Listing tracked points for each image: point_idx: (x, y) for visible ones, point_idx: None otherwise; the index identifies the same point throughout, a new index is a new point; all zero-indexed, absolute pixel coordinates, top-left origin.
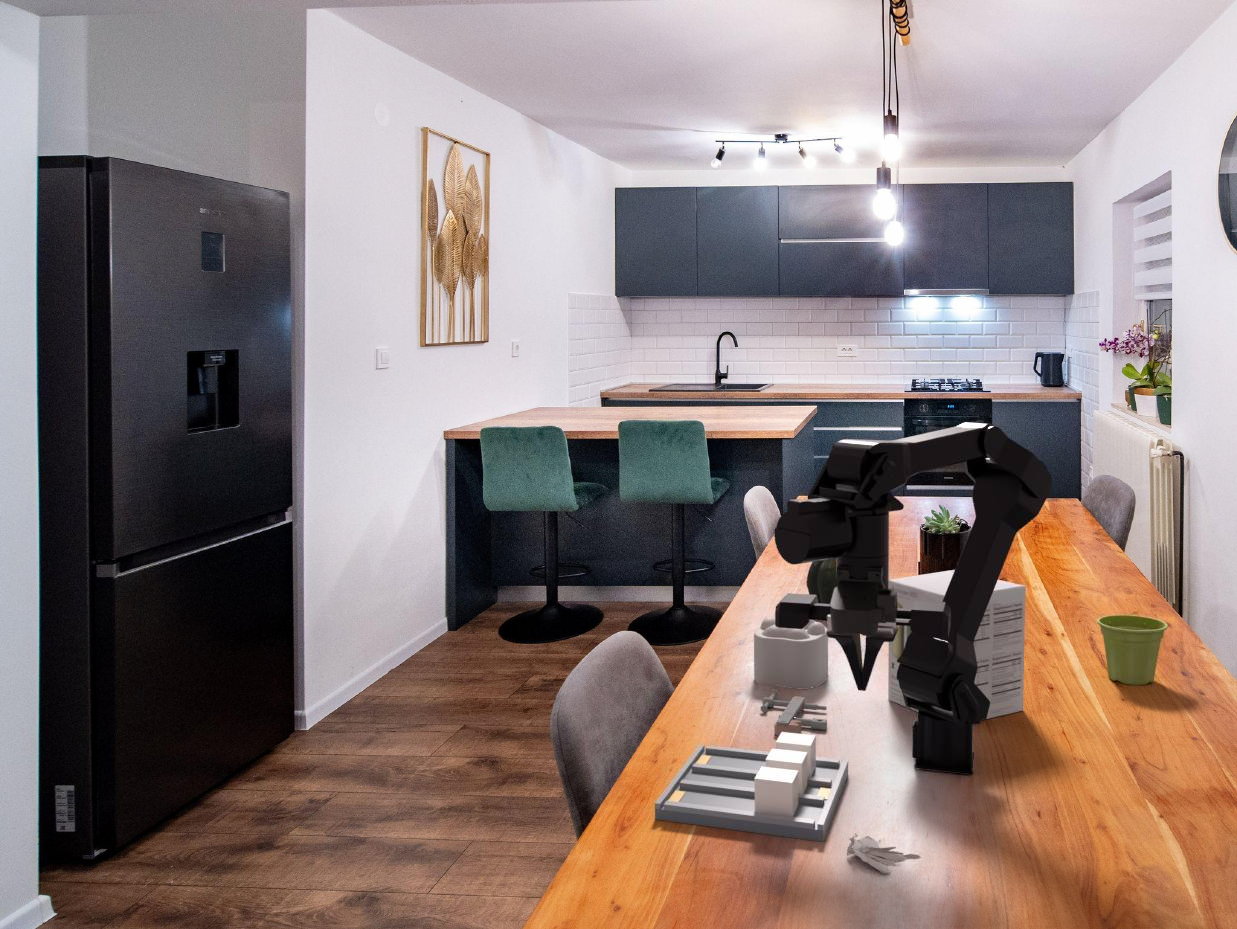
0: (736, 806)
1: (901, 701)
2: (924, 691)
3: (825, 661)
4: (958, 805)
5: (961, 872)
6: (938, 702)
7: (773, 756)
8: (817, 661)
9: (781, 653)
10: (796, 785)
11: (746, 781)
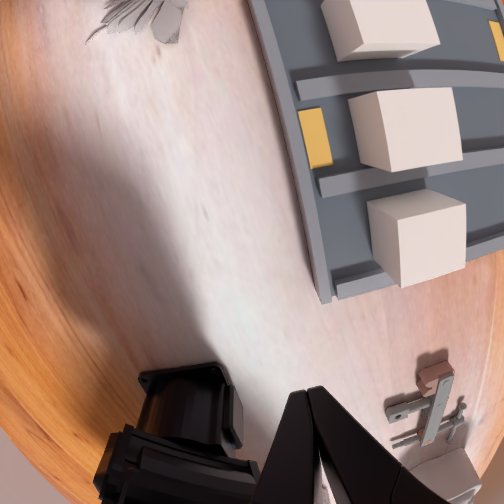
0: None
1: None
2: (178, 476)
3: None
4: (102, 264)
5: (32, 47)
6: (142, 452)
7: (445, 110)
8: None
9: (452, 483)
10: (347, 28)
11: None
